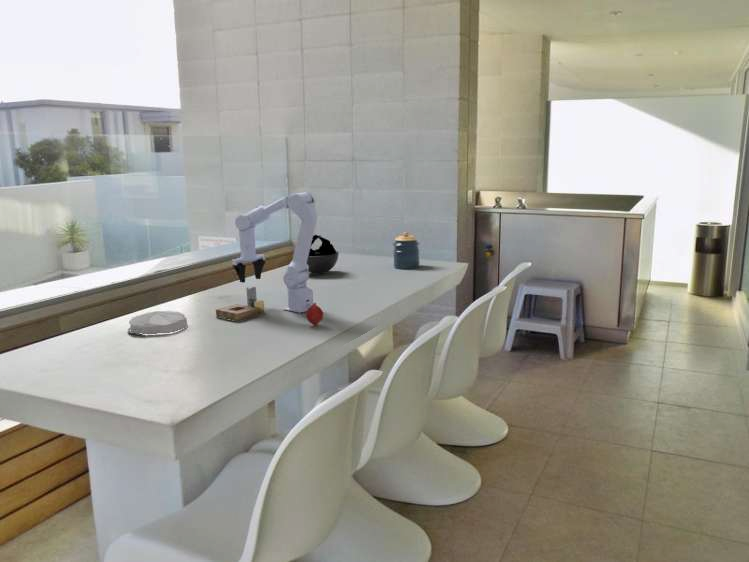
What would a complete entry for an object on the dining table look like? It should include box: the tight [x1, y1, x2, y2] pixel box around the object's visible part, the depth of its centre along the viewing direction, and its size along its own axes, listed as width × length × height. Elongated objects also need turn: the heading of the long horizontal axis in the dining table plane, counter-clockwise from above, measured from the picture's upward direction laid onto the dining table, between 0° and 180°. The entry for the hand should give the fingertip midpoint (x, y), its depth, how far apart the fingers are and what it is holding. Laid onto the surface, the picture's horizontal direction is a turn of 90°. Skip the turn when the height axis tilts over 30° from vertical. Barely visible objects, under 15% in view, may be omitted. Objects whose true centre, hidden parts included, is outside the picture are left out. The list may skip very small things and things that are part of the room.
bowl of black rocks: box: [307, 234, 340, 275], centre depth 317 cm, size 20×20×19 cm
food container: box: [127, 310, 189, 334], centre depth 229 cm, size 20×20×7 cm
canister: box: [392, 231, 420, 270], centre depth 327 cm, size 13×13×18 cm
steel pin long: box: [245, 286, 258, 307], centre depth 254 cm, size 4×4×8 cm
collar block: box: [215, 303, 260, 322], centre depth 241 cm, size 12×10×3 cm
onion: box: [305, 302, 324, 326], centre depth 225 cm, size 6×6×8 cm
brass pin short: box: [254, 300, 266, 315], centre depth 245 cm, size 4×4×4 cm
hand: (250, 280), depth 255 cm, fingers open, 7 cm apart
